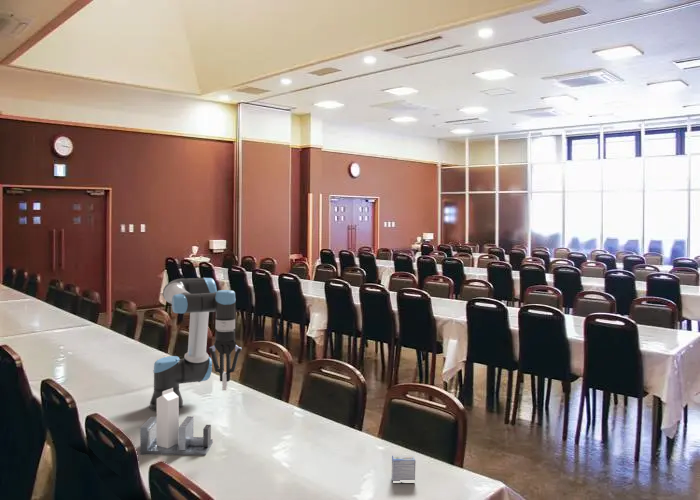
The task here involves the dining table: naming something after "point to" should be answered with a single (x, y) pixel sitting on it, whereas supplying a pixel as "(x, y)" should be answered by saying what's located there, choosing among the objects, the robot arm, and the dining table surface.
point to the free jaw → (187, 435)
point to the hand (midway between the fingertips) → (224, 389)
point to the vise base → (150, 447)
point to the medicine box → (403, 467)
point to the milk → (167, 419)
